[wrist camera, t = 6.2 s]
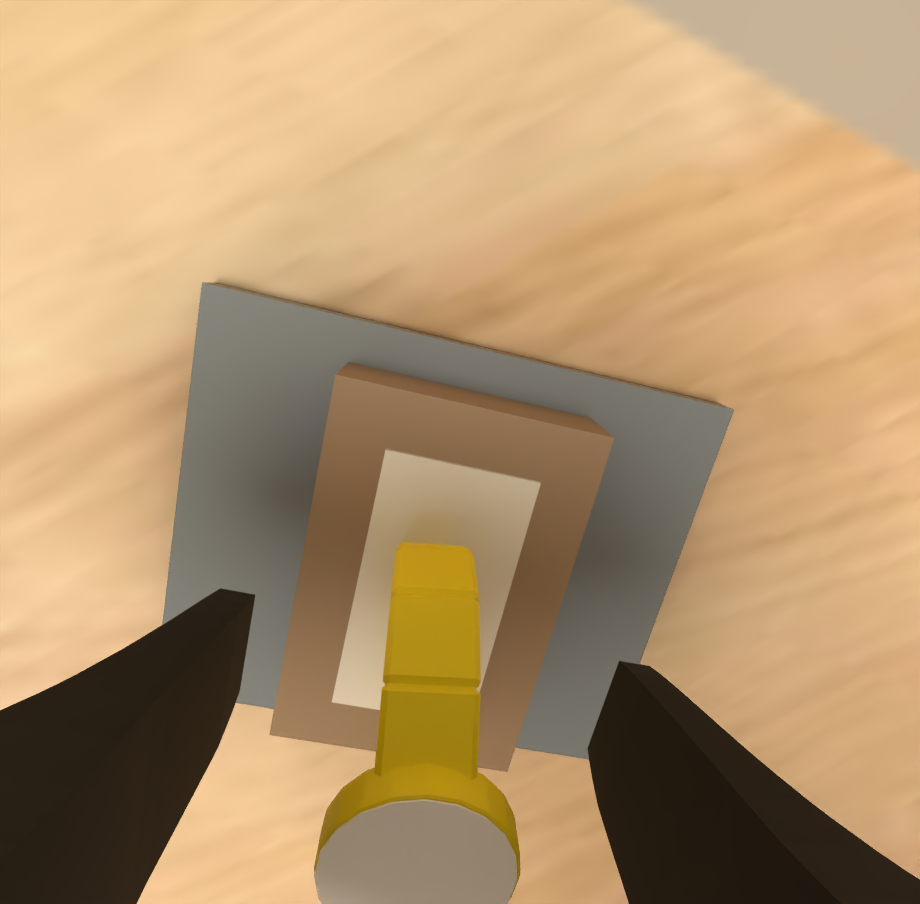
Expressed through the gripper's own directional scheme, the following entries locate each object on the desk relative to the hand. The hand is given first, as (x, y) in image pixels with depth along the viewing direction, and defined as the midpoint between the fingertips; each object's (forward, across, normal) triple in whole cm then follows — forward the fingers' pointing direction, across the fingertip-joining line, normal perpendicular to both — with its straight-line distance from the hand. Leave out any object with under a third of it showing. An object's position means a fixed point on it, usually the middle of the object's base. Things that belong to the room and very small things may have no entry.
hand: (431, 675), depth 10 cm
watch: (+3, 0, +1) cm, 3 cm away
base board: (+6, 0, 0) cm, 6 cm away
